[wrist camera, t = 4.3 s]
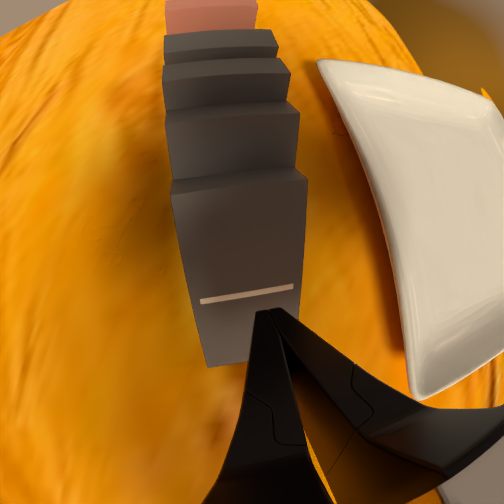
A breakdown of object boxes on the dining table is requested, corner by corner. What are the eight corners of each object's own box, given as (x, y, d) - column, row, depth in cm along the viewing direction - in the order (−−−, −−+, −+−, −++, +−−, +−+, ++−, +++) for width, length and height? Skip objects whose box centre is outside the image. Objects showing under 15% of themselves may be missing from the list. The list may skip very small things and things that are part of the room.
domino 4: (280, 280, 17) (300, 113, 10) (196, 294, 17) (164, 124, 9) (273, 260, 19) (286, 100, 11) (193, 273, 18) (166, 110, 11)
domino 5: (295, 351, 16) (308, 179, 11) (207, 368, 15) (170, 195, 10) (286, 331, 17) (293, 166, 12) (204, 346, 17) (171, 180, 11)
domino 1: (241, 113, 21) (258, 6, 12) (177, 120, 21) (164, 11, 11) (238, 99, 22) (252, -5, 12) (176, 106, 21) (165, 0, 11)
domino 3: (265, 216, 19) (291, 73, 10) (186, 227, 18) (161, 81, 9) (259, 196, 20) (279, 57, 11) (184, 206, 19) (163, 65, 10)
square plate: (478, 112, 28) (493, 97, 24) (543, 307, 21) (565, 302, 18) (304, 80, 24) (315, 50, 20) (385, 399, 17) (417, 409, 14)
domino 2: (252, 160, 20) (278, 47, 11) (181, 168, 19) (163, 53, 10) (248, 141, 21) (270, 29, 11) (179, 149, 20) (164, 35, 10)
